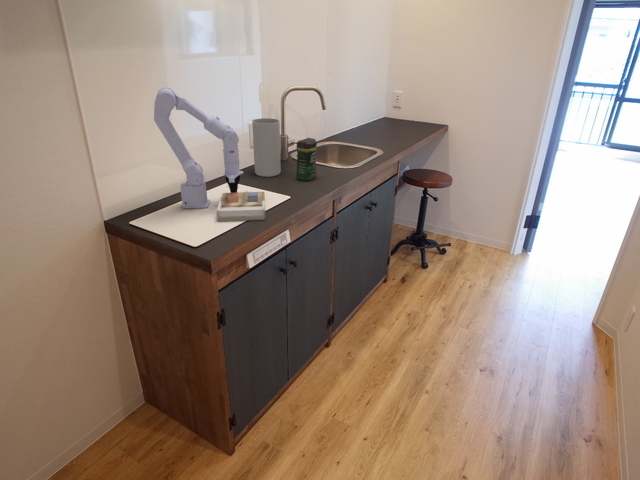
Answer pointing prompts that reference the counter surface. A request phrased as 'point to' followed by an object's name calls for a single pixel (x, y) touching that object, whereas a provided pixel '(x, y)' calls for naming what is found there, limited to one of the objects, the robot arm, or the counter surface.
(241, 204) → the oak board
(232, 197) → the terracotta block
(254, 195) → the slate tile
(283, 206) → the counter surface
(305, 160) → the coffee jar
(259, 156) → the cylinder vase
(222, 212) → the box
